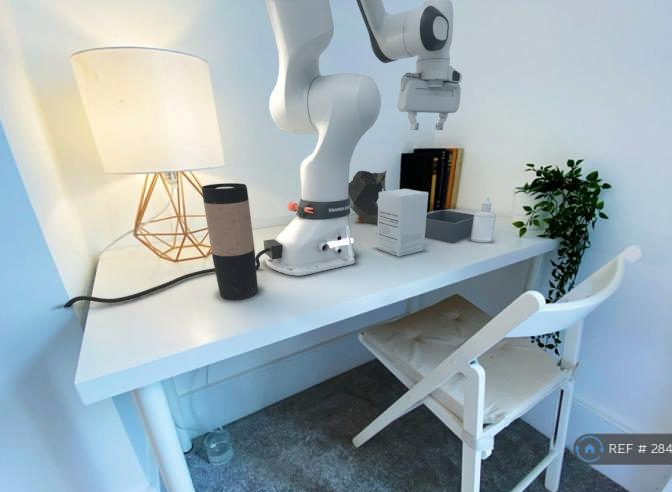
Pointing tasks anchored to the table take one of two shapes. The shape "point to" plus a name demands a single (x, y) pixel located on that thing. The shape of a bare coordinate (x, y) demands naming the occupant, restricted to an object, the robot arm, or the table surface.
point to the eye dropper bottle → (483, 223)
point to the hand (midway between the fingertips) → (427, 130)
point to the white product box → (401, 221)
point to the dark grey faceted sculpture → (366, 195)
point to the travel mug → (231, 239)
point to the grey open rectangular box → (448, 225)
